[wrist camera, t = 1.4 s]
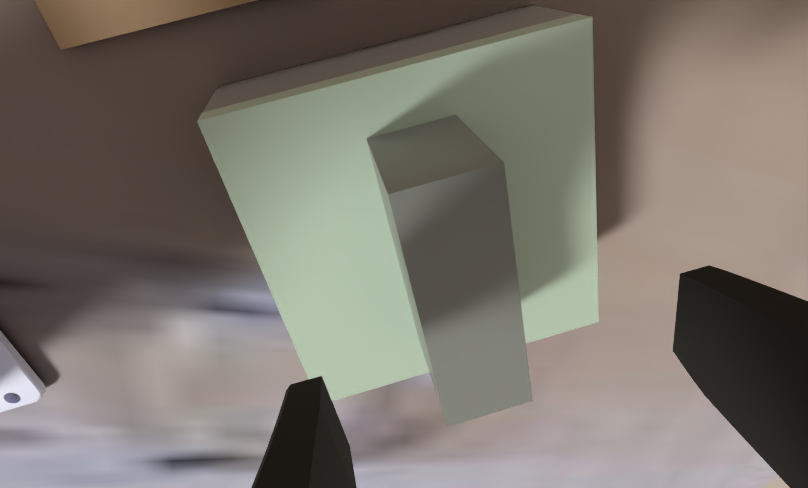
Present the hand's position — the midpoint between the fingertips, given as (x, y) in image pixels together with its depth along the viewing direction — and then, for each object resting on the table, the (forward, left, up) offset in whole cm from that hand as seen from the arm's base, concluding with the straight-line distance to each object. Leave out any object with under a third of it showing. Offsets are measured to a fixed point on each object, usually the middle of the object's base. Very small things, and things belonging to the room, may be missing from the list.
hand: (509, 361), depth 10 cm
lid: (0, 0, -7) cm, 7 cm away
